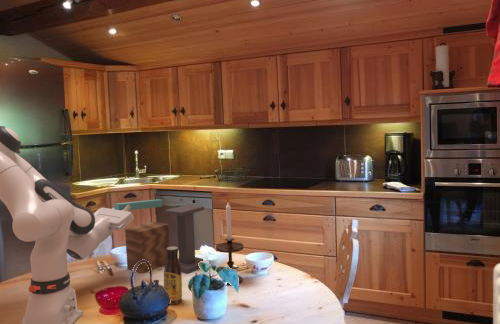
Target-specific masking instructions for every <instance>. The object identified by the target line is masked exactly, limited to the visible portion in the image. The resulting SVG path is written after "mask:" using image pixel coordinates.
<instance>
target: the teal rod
mask: <svg viewBox="0 0 500 324" xmlns="http://www.w3.org/2000/svg"><path fill="white" fill-rule="evenodd" d="M163 203H164V202H163V199H159V198H158V199H149V200H139V201H138V200H137V201H130V202H119V203H113V207H114V209H115V210H121V211H122V210H124V208H125V207H124V206H126V205H130V207H131V208H130V209H129V210H128V211H134V210H135V211H136V210H137V211H138V210H144V209H151V208H152V209H153V208H162V207H163Z"/></svg>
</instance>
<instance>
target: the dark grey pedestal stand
mask: <svg viewBox="0 0 500 324" xmlns="http://www.w3.org/2000/svg"><path fill="white" fill-rule="evenodd" d="M202 211H205V206H201V205H193V204H184V205H182V206H177V207H172V208H167V209H164V214H165V215H171V216H172V215H173V216H176V222H177V224H176V225H177V243H178V246H177V247H178V261H179V263H180V264H181V273H182V274H187V275H189V274H191V273H193V272H195V271H199V270H201V269H200V268H199V266H198V263H199V262H200V261H203V259H204V258H201V257H197V256H196V247H195V246H196V245H195V244H196V243H195V225H194V224H195V223H194V222H195V221H194V213H198V212H202ZM165 266H166V263H165V265H164V267H165Z"/></svg>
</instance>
